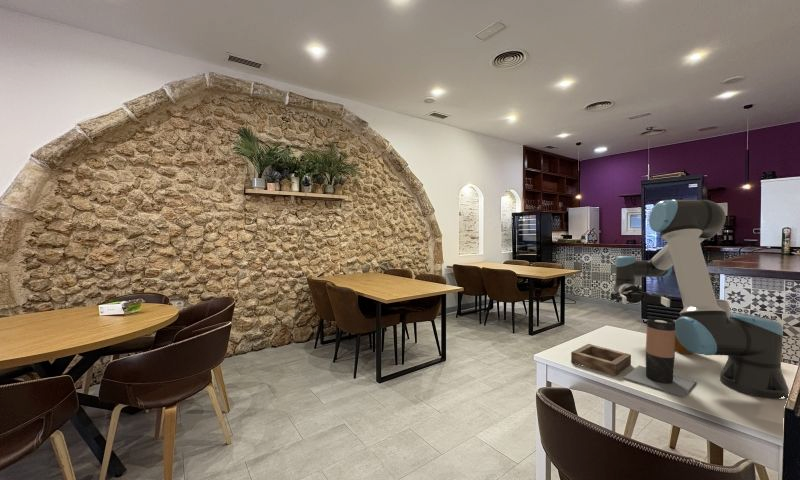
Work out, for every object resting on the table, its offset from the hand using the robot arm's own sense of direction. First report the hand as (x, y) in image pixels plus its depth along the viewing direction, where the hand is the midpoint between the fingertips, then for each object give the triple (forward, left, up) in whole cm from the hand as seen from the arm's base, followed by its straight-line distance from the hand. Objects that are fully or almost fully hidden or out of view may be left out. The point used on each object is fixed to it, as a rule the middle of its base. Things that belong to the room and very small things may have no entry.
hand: (646, 301), depth 126 cm
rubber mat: (-8, +14, -23) cm, 28 cm away
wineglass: (-14, -42, -24) cm, 50 cm away
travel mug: (-8, +14, -23) cm, 28 cm away
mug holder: (+10, +14, -23) cm, 29 cm away
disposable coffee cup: (-6, -27, -24) cm, 37 cm away
